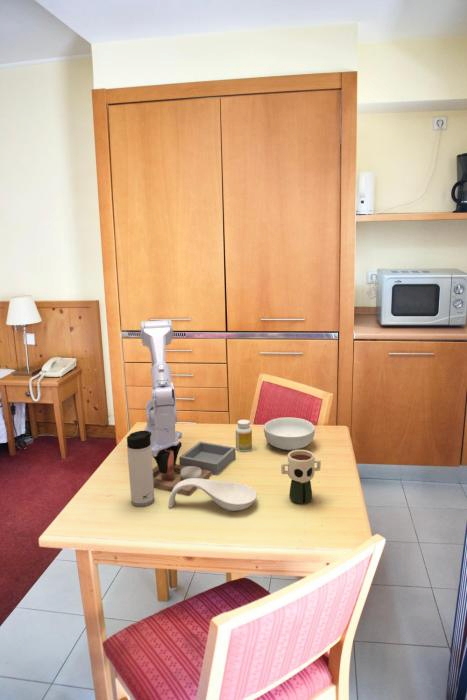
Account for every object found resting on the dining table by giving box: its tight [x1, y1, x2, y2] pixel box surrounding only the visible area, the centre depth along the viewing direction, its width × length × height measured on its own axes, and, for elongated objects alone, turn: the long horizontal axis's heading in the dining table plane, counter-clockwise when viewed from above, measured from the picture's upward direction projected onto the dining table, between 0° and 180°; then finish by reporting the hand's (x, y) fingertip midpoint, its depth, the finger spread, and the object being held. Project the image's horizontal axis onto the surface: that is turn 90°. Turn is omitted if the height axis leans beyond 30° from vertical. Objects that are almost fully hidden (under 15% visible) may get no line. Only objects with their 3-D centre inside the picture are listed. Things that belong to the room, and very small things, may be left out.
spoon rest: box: [167, 478, 258, 512], centre depth 144 cm, size 24×12×7 cm, turn 87°
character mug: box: [280, 449, 322, 504], centre depth 145 cm, size 11×7×13 cm, turn 100°
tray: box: [179, 441, 237, 476], centre depth 169 cm, size 13×13×4 cm
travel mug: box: [126, 430, 155, 508], centre depth 145 cm, size 6×7×20 cm
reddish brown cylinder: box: [160, 448, 176, 482], centre depth 159 cm, size 4×4×9 cm
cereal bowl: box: [263, 417, 316, 452], centre depth 180 cm, size 17×17×7 cm
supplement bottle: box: [235, 419, 253, 453], centre depth 178 cm, size 5×5×10 cm
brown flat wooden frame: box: [152, 463, 212, 496], centre depth 158 cm, size 17×13×4 cm
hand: (167, 469), depth 159 cm, fingers closed on reddish brown cylinder, 4 cm apart
